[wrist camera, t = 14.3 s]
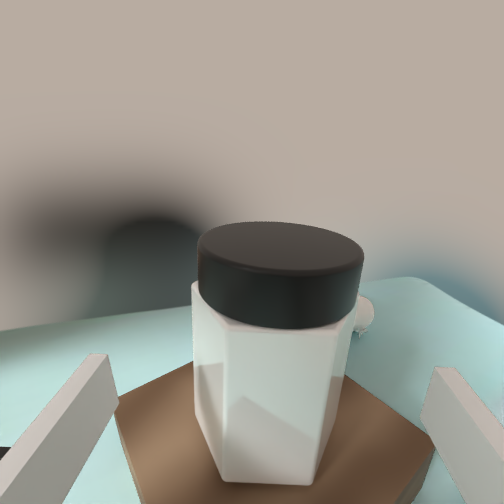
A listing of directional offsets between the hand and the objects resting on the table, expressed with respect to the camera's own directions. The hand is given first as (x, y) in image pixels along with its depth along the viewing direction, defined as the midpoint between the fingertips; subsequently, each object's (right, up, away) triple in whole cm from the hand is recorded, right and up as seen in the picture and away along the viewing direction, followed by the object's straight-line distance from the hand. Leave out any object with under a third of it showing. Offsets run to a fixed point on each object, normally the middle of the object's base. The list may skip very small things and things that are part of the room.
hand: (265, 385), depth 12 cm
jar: (0, -5, +7) cm, 8 cm away
